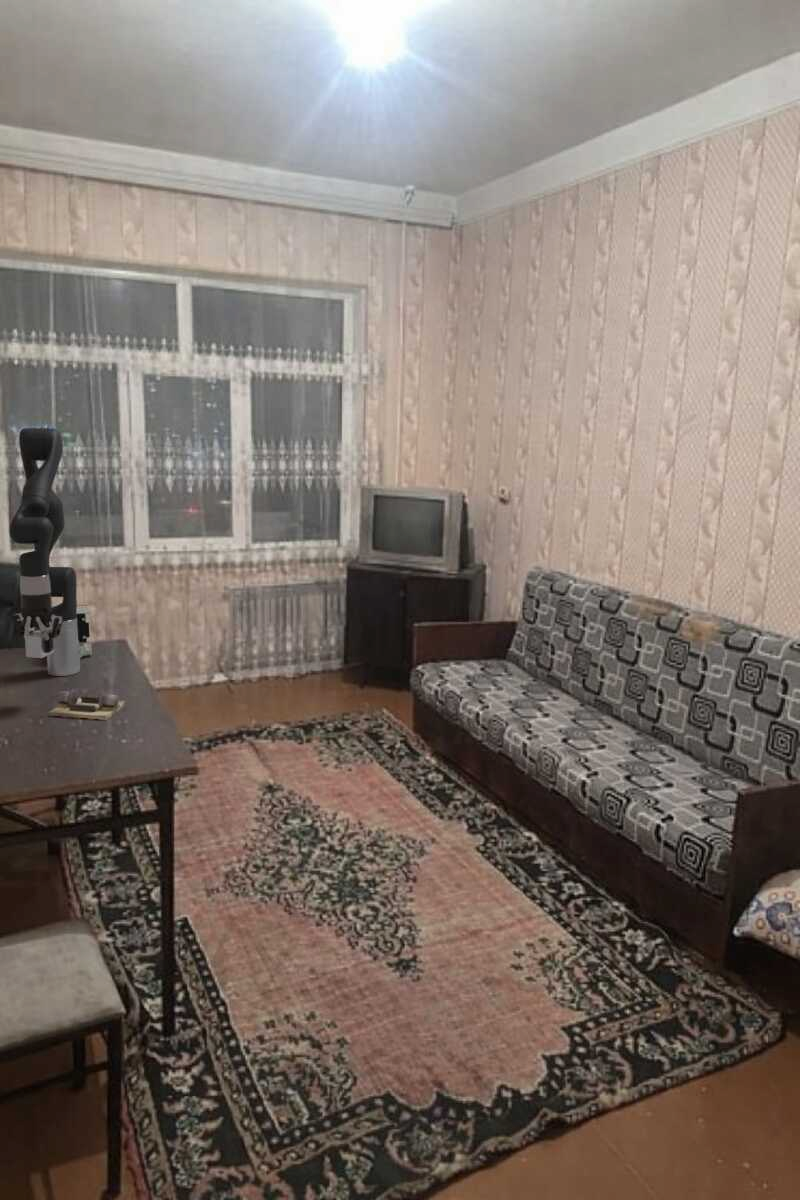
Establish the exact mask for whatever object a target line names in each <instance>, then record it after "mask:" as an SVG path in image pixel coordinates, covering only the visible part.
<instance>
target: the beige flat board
mask: <svg viewBox="0 0 800 1200" xmlns="http://www.w3.org/2000/svg"><path fill="white" fill-rule="evenodd" d="M56 699H57V702H58V703H56V707H55V708H53V709H52V710H49V712H48V716H49V717H54V716H62V717H61V718H67V717H73V718H72V719H80V718H87V719H86V720H94V719H99V720H98V721H107V719H108V718H109V717H110V718H112V717H113V716H114V715H115V713H116V712H117V711H118V712H120V711H121V710H122V709H124V708H125V707H127V701H126V700H124V701H123V700H119V696H118V694H108V693H107V691H104V690H103V691H101V692H100V693H99V694H98V696H87V695H86V696H85V695H82V696H81V697H79V692H78V690H77V689H74V688H73V689H71V690H70V691H66V690H65V691H64V690H60V691H59V692H58V693H57V698H56ZM124 706H125V707H124ZM123 707H124V708H123ZM121 708H122V709H121ZM120 709H121V710H120ZM119 710H120V711H119ZM118 712H117V713H118ZM117 713H116V714H117ZM113 714H114V715H113ZM112 715H113V716H112ZM111 716H112V717H111ZM110 718H109V719H110ZM109 719H108V720H109Z"/></svg>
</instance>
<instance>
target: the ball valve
mask: <svg viewBox="0 0 800 1200" xmlns="http://www.w3.org/2000/svg"><path fill="white" fill-rule="evenodd" d="M91 613H92V612H91V608H88V607H87V604H77V629H78V640H79V652H80V659H81V658H83V657H84V656H85V657H88V656H91V655H92V653H93V652H92V650H93V649H92V643H87V642H88V638H90V637H91V636H90V635H91V629H92V626H91V624H92V623H91V620H92V619H91ZM85 657H84V658H85Z"/></svg>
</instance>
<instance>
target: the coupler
mask: <svg viewBox="0 0 800 1200" xmlns="http://www.w3.org/2000/svg"><path fill="white" fill-rule="evenodd" d="M45 640H46V639H45V637H44V635H43V633H42V632H41V630H40V629H38V630H37V629H35V630H34V632H32V633H30V634H28V635H25V638H24V641H25V642H24V643H25V657H26V658H33V659H34V658H36V659H43V658H45V657H47V655H49V654H51V653H53V652H54V651H53V650H52V651H51V652H50V653H46V652H45Z"/></svg>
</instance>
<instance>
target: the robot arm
mask: <svg viewBox="0 0 800 1200" xmlns="http://www.w3.org/2000/svg"><path fill="white" fill-rule="evenodd" d="M18 441H19V450H20V455H21V456H20V457H21V461H22V465H23V466H22V467H23V472H24V475H25V477H24V478H25V481H26V482H25V483H24V486H23V488H22V494H21V498H20V499H21V501H20V504H19V507H18V509H17V511H16V513H15V514H14V516H13V518H12V519H11V522H10V525H9V528H8V529H9V531H8V532H9V537H10V538H11V540H12V541H13V542H14V543H16V544H21V545H22V544H24V545H26V544H27V545H28V544H29V545H30V544H32V545H34V550H32V551H27V552H23V553H21V554H20V555H19V558H18V560H19V574H20V579H19V586H20V587H19V591H20V603H21V608H22V611H21V613H19V612H18V613H15V614H14V615H12V616H11V619H12V621H13V625H14V627H15V630H16V634H17V636H19V637H22V638H24V639H25V635H28V634H30V633H32V632H34V631H35V630H36V628H38V629H39V630H41V632H42V633H43V635H44V637H45V639H46V640H45V652H46V653H50V652H51V651H52V650H53V651H54V652H53V653H51V654H49V655H47V656H46V660H47V661H46V663H47V674H48V675H50V676H54V677H63V676H65V677H66V676H67V677H68V676H72V675H75V674H77V673H79V672H80V671H81V670H80V669H81V658H80V652H79V640H78V629H77V605H78V603H77V598H78V597H77V587H78V585H77V574H76V570H75V569H74V567H71V566H50V556H51V553H52V550H53V548H54V546H55V545H56V543H57V541H58V540H59V538H60V536H61V534H62V533H63V531H64V528H65V516H64V515H65V514H64V505H63V503H62V501H61V499H60V497H59V496H58V495H57V493H56V492H55V491H54V490H53V489H52V488H53V485H54V481H55V478H56V475H57V472H58V470H59V466H60V462H61V460H62V456H63V445H64V444H63V438H62V434H61V432H60V431H59V430H58V428H53V427H51V428H50V427H48V428H47V427H24V428H22V429H20V431H19V436H18ZM37 461H38V462H40V461H42V462H43V461H44V462H43V463H42V465H41V466H40V467H38V463H37ZM52 598H62V602H61V603H59V604H58V605H55V606H53V605H52ZM24 621H25V622H26V623H25V622H24Z"/></svg>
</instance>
